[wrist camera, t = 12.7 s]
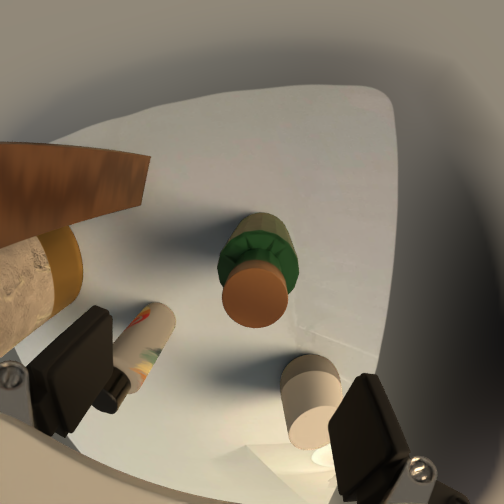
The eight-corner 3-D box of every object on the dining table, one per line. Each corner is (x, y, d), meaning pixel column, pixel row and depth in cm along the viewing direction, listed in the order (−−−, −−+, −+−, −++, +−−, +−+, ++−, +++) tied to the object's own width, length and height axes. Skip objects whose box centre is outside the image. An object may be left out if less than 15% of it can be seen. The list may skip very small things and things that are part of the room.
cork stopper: (237, 243, 24) (229, 260, 19) (291, 257, 24) (296, 277, 19) (225, 292, 25) (215, 319, 20) (275, 305, 25) (277, 334, 20)
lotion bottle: (136, 312, 42) (68, 389, 23) (160, 295, 41) (93, 375, 22) (158, 339, 43) (105, 425, 24) (184, 323, 42) (134, 416, 23)
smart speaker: (344, 376, 43) (363, 436, 29) (296, 398, 45) (302, 461, 31) (320, 338, 41) (337, 401, 28) (268, 364, 43) (267, 429, 29)
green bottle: (241, 206, 37) (220, 229, 21) (295, 220, 37) (316, 254, 21) (228, 257, 39) (201, 315, 22) (280, 271, 39) (287, 337, 22)
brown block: (110, 149, 36) (-41, 142, 11) (151, 156, 36) (-2, 143, 11) (101, 195, 38) (-46, 229, 12) (141, 205, 38) (-8, 252, 12)
